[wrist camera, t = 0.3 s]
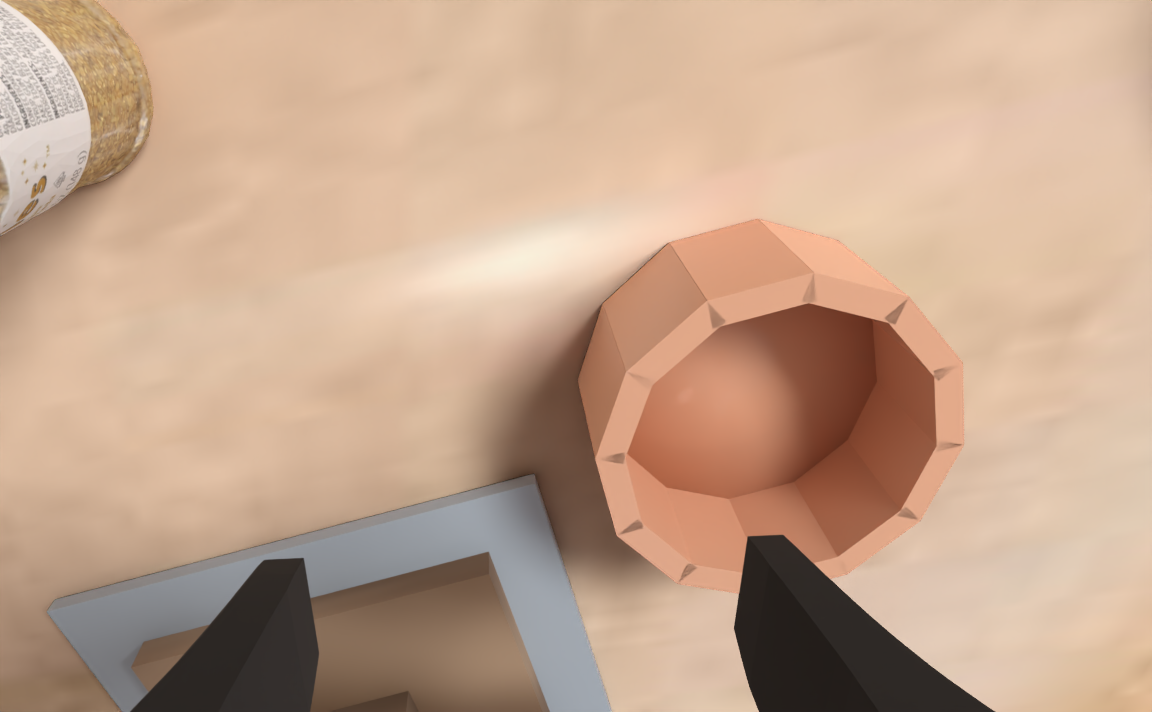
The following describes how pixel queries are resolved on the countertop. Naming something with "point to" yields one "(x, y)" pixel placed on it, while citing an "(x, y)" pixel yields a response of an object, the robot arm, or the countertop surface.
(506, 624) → the cover board
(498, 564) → the rubber mat
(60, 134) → the sprinkles bottle
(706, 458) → the terracotta bowl
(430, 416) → the countertop surface
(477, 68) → the countertop surface
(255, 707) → the robot arm
